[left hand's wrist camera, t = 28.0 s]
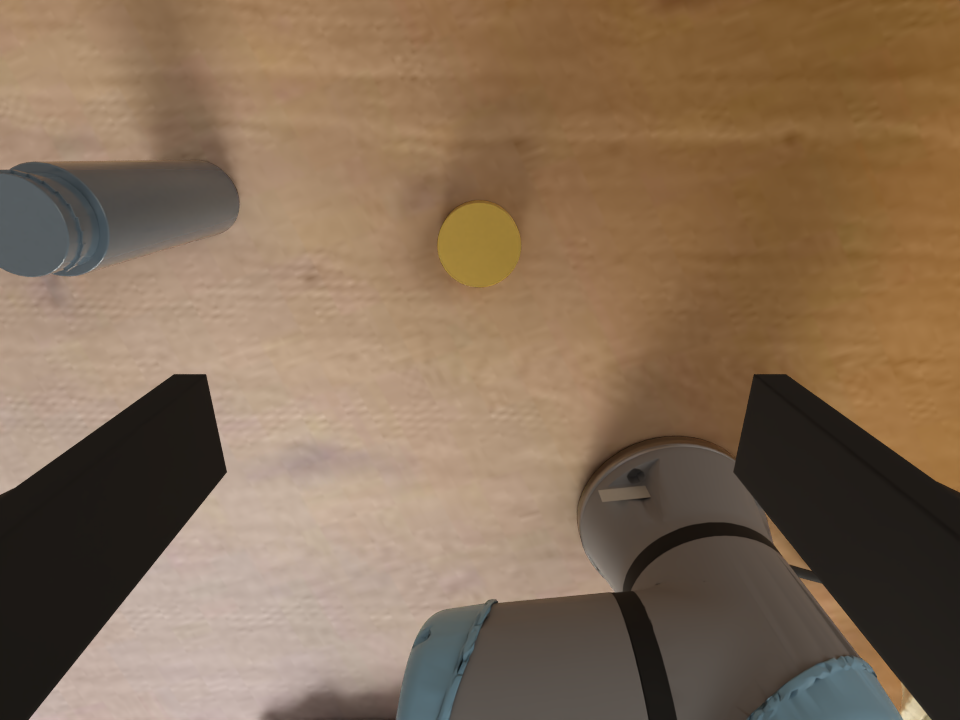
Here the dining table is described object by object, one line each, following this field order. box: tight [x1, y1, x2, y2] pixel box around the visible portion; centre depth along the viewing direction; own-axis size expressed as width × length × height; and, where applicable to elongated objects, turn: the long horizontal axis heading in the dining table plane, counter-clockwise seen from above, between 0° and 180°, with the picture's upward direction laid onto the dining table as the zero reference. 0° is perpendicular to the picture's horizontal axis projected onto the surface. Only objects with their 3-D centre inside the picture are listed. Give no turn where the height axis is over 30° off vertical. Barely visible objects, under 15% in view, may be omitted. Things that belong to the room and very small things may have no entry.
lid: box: [437, 200, 521, 287], centre depth 36 cm, size 6×6×2 cm
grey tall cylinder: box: [0, 160, 239, 277], centre depth 29 cm, size 5×5×16 cm
